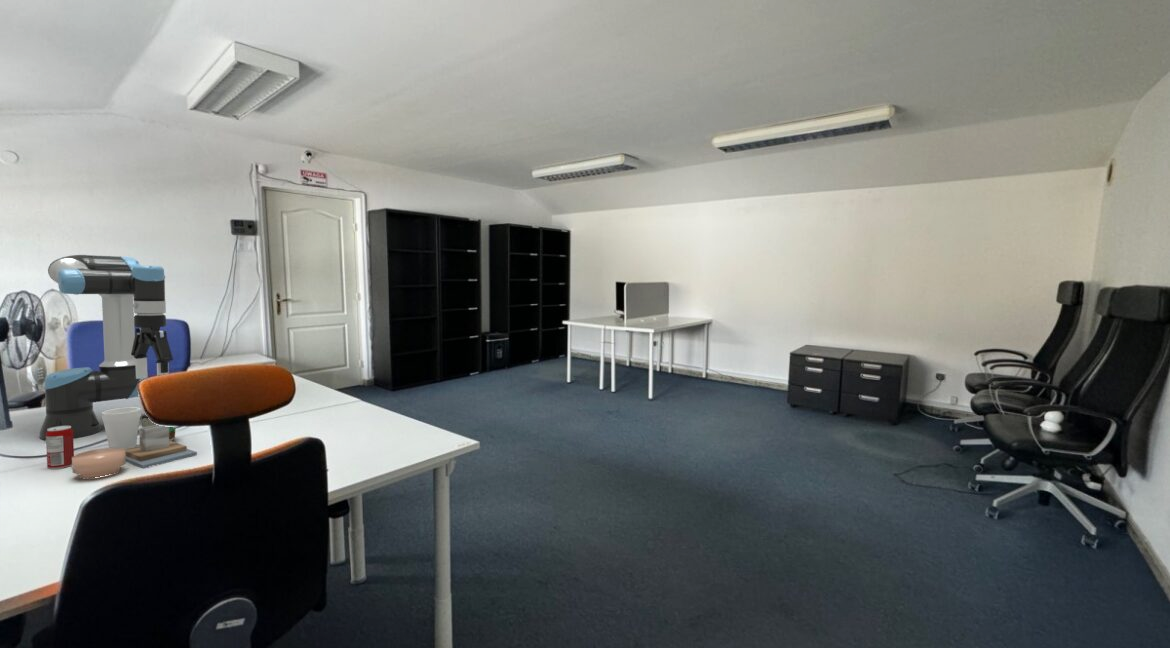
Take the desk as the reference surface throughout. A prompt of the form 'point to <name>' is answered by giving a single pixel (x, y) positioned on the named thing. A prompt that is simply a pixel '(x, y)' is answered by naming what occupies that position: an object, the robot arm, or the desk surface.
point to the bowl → (98, 462)
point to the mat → (161, 459)
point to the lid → (154, 444)
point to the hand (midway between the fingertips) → (152, 380)
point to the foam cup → (122, 426)
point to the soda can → (59, 447)
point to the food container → (147, 422)
